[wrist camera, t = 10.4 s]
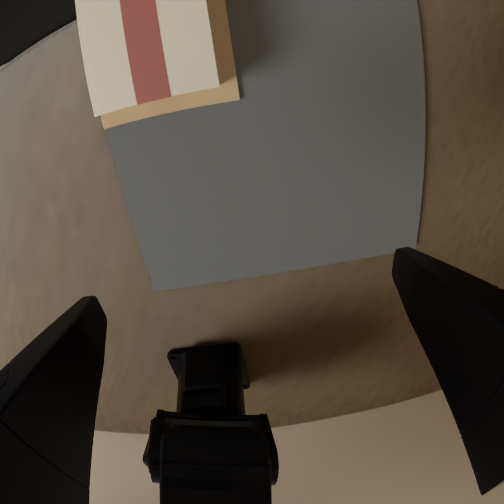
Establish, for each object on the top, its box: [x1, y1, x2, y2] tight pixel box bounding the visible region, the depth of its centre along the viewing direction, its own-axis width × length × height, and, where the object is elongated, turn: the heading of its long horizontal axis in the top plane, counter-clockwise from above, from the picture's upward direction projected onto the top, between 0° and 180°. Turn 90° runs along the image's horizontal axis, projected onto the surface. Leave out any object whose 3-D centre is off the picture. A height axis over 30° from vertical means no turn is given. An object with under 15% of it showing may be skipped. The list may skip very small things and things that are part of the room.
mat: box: [101, 0, 426, 291], centre depth 16 cm, size 26×20×1 cm
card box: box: [75, 0, 220, 117], centre depth 12 cm, size 10×6×4 cm, turn 8°
